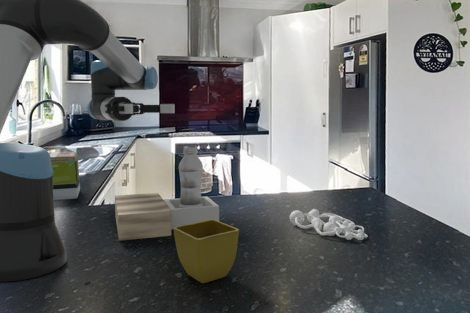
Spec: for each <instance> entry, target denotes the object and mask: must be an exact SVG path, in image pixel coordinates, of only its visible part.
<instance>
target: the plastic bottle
mask: <svg viewBox="0 0 470 313" xmlns="http://www.w3.org/2000/svg"><path fill="white" fill-rule="evenodd" d="M182 153H183V155H184V156H183V157H181V158H182V159H181V160H180V162H179V164H178V171H179V172H178V173H179V180H180V197H179V198H180V205H179V208H187V207H200V206H202V203H201V197H202V192H201V189H202V187H201V186H202V176H203V170H204V168H203V167H204V166H203V162H202V161H201V159H200V157H199V156H198V153H199V151H198V146H197V145H184V146H183V152H182Z"/></svg>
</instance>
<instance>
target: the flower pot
mask: <svg viewBox="0 0 470 313" xmlns="http://www.w3.org/2000/svg"><path fill="white" fill-rule="evenodd" d="M172 231H173V235H174V236H173V237H174V240H175V246H176V247H175V248H176V252H177V256H178V259H179V262H180V264H181V265H182V267H183V269H184V271H186V273H187V275H188V276H190V277H191V278H193V279H194V280H196V281H198V282H199V283H201V284H207V283H210V282H212V281H215V280H216V281H217V280H219V279H223V278H226V276H227V275H228V273H229V272H230V271H231V269H232V267H233V265H234V264H235V263H234V262H235V261H236V256H237V252H238V244H239V235H240V229H239V228H237V227H235V226H232V225H230V224H227V223H224V222H222V221H220V220H219V221H217V220H213V219H212V220H206V221H202V222H197V223H193V224H187V225H182V226H177V227H174V228H173V229H172Z"/></svg>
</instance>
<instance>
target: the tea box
mask: <svg viewBox="0 0 470 313" xmlns="http://www.w3.org/2000/svg"><path fill="white" fill-rule="evenodd" d="M48 153H49V154H50V157H51V164H52V169H53V194H54V201H59V200H60V201H61V200H72V199H78V197H79V194H80V190H81V184H80V183H81V182H80V169H79V157H78V155H79V154H78V151H55V152H52V151H51V152H48Z"/></svg>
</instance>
